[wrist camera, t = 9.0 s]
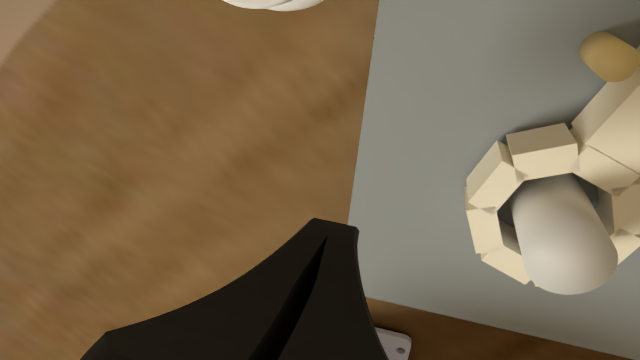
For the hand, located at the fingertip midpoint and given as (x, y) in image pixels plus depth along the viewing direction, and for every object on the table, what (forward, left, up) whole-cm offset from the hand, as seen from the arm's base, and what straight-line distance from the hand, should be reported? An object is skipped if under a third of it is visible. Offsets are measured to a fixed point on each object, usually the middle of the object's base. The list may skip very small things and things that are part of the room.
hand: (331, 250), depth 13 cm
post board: (-1, -8, -9) cm, 12 cm away
